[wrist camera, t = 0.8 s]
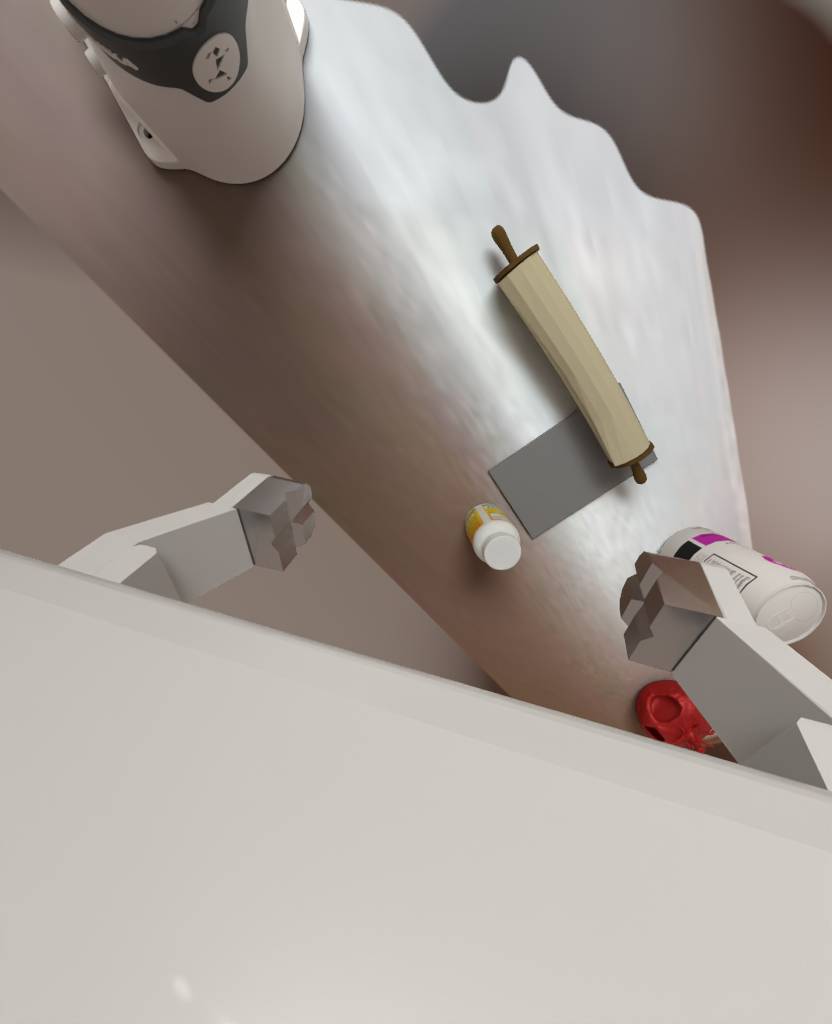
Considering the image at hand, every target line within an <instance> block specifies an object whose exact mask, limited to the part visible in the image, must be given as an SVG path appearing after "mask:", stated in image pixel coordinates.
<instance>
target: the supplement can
mask: <svg viewBox="0 0 832 1024" xmlns="http://www.w3.org/2000/svg"><path fill="white" fill-rule="evenodd" d="M660 555H665V556H670V557H675V558H680V559H685V560H691V561H700V562H706V563H712V564H717V565H722V566H724V567H725V568H726V569H727V570H728V571H729V573H730V575H731V577H732V579H733V581H734V583H735V585H736V587H737V589H738V591H739V592H740V594H741V596H742V598H743V600H744V602H745V604H746V606H747V608H748V610H749V612H750V614H751V616H752V617H753V619H754V621H755V623H756V625H757V626H760V627H764V628H767V629H768V630H769V631H770V632H772V633H773V634H774V635H775V636H777V637H778V638H779V639H780V640H782V641H783V642H784V643H786V644H790V643H793V642H796V641H798V640H801V639H802V638H804V637H806V636H807V635H808V634H810V633H811V632H813V631H814V629H815V628H816V627H817V626H818V625H819V624H820V622H821V620H822V619H823V617H824V615H825V613H826V604H827V602H826V599H825V596H824V594H823V592H821V591H820V590H819V589H818V588H817V586H816V585H815V584H814V582H813V581H812V580H811V579H810V578H808V577H807V576H806V575H805V574H803V573H801V572H799V571H796V570H794V569H792V568H790V567H788V566H786V565H784V564H781V563H779V562H777V561H775V560H773V559H771V558H769V557H767V556H764V555H762V554H760V553H758V552H756V551H754V550H752V549H749V548H747V547H745V546H743V545H741V544H739V543H737V542H735V541H732V540H730V539H728V538H726V537H724V536H722V535H720V534H717V533H715V532H713V531H711V530H709V529H706V528H702V527H688V528H685V529H683V530H681V531H678V532H676V533H675V534H674V535H672V536H671V537H670V538H669V539H667V541H666V542H665V544H664V545H663V546H662V548H661V551H660Z"/></svg>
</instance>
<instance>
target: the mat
mask: <svg viewBox="0 0 832 1024" xmlns="http://www.w3.org/2000/svg"><path fill="white" fill-rule="evenodd" d="M618 384H619V386H620V388H621V390H622V391H623V393H624V395H625V397H626V398H627V396H626V394H625V392H624V390H623V388H622V386H621V384H620V383H618ZM627 400H628V398H627ZM628 402H629V400H628ZM629 404H630V402H629ZM630 406H631V404H630ZM631 408H632V406H631ZM632 410H633V408H632ZM633 412H634V410H633ZM634 414H635V412H634ZM635 416H636V414H635ZM636 418H637V416H636ZM637 419H638V418H637ZM638 421H639V420H638ZM639 423H640V422H639ZM640 425H641V424H640ZM641 427H642V426H641ZM642 429H643V428H642ZM643 431H644V430H643ZM644 433H645V432H644ZM645 435H646V434H645ZM646 437H647V436H646ZM647 439H648V438H647ZM607 460H608V457H607V455H606V454H605V452H604V450H603V448H602V447H601V445H600V443H599V441H598V440H597V438H596V436H595V434H594V432H593V431H592V429H591V427H590V425H589V424H588V422H587V420H586V418H585V417H584V415H583V414H582V412H581V410H580V409H579V410H577V411H576V412H574V413H573V414H571V415H570V416H568V417H567V418H566V419H564V420H563V421H561V422H560V423H558V424H557V425H555V426H554V427H552V428H551V429H549V430H548V431H546V432H545V433H543V434H542V435H540V436H539V437H538V438H536V439H535V440H533V441H532V442H530V443H529V444H527V445H526V446H524V447H523V448H521V449H520V450H518V451H517V452H515V453H514V454H512V455H511V456H509V457H508V458H507V459H505V460H504V461H502V462H501V463H499V464H498V465H496V466H495V467H493V468H492V469H490V470H489V473H490V474H491V476H492V477H493V479H494V481H495V482H496V484H497V485H498V487H499V488H500V490H501V491H502V493H503V494H504V496H505V497H506V499H507V500H508V502H509V503H510V505H511V507H512V508H513V510H514V511H515V513H516V514H517V516H518V517H519V519H520V520H521V522H522V523H523V525H524V526H525V528H526V529H527V531H528V532H529V534H530V536H531V537H532V538H534V537H536V536H538V535H539V534H541V533H542V532H544V531H545V530H547V529H549V528H550V527H552V526H553V525H555V524H557V523H558V522H560V521H561V520H563V519H564V518H566V517H568V516H569V515H571V514H572V513H574V512H575V511H577V510H579V509H580V508H582V507H583V506H585V505H586V504H588V503H590V502H591V501H593V500H594V499H596V498H597V497H599V496H601V495H602V494H604V493H605V492H607V491H609V490H610V489H612V488H613V487H615V486H616V485H618V484H620V483H621V482H623V481H624V480H626V479H627V478H629V477H631V476H632V475H633V473H632V470H631V467H630V466H627V467H623V468H619V469H618V468H611V467H610V466H609V464H608V462H607ZM656 460H657V457H656V455H655V453H654V451H652V453H651V454H650V455H648V456H647V457H646V458H644V459H643V460H642V461H639V464H640V466H641V467H642V469H643V468H645V467H646V466H648V465H650V464H651V463H653V462H654V461H656Z"/></svg>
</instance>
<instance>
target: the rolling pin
mask: <svg viewBox="0 0 832 1024" xmlns="http://www.w3.org/2000/svg"><path fill="white" fill-rule="evenodd" d="M491 234H492V238H493V240H494V241H495V243H496V244H497V245H498V247H499V248H500V249H501V251H502V252H503V254H504V255H505V257H506V258H507V260H508V262H509V263H510V264H509V265H508V266H506V267H505V268H504V269H503V270H502V271H501V272H500V273H499V274H498V275H497V276H496V277H495V278H494V279H493V280H494V281H495V283H496V284H497V283H498V285H499V286H500V288H501V289H502V291H503V292H504V293H505V295H506V296H507V298H508V299H509V301H510V302H511V304H512V305H513V307H514V308H515V309H516V311H517V312H518V314H519V315H520V317H521V318H522V320H523V321H524V323H525V324H526V326H527V327H528V328H529V330H530V331H531V333H532V334H533V336H534V337H535V339H536V341H537V342H538V344H539V345H540V347H541V348H542V350H543V351H544V353H545V354H546V356H547V357H548V359H549V361H550V362H551V364H552V365H553V367H554V368H555V370H556V371H557V373H558V374H559V376H560V377H561V379H562V381H563V382H564V384H565V386H566V387H567V389H568V391H569V392H570V394H571V395H572V397H573V399H574V400H575V402H576V404H577V405H578V407H579V409H580V410H581V412H582V414H583V415H584V417H585V418H586V420H587V422H588V424H589V425H590V427H591V429H592V431H593V432H594V434H595V436H596V438H597V440H598V441H599V443H600V445H601V447H602V448H603V450H604V452H605V454H606V455H607V457H608V460H607V462H608V464H609V466H610V467H611V468H618V469H619V468H623V467H627V466H630V467H631V470H632V473H633V476H634V479H635V481H636V482H637V483H638V484H643V483H645V482H646V481H647V476H646V474H645V472H644V471H643V469H642V467H641V466H640V464H639V461H642V460H643V459H644V458H646V457H647V456H648V455H650V454H651V453H652V451H653V449H654V445H653V444H652V443H651V442H650V441H649V440H648V439H647V437H646V435H645V433H644V431H643V429H642V427H641V425H640V423H639V421H638V419H637V418H636V416H635V414H634V412H633V410H632V408H631V406H630V404H629V402H628V400H627V398H626V397H625V395H624V393H623V391H622V390H621V388H620V386H619V384H618V383H617V381H616V379H615V377H614V375H613V374H612V372H611V370H610V368H609V367H608V365H607V363H606V361H605V360H604V358H603V356H602V354H601V353H600V351H599V349H598V348H597V346H596V344H595V343H594V341H593V339H592V338H591V336H590V334H589V333H588V331H587V330H586V328H585V326H584V325H583V323H582V321H581V320H580V318H579V316H578V315H577V313H576V311H575V310H574V308H573V306H572V305H571V303H570V302H569V300H568V299H567V297H566V295H565V294H564V292H563V291H562V289H561V288H560V286H559V285H558V283H557V281H556V280H555V278H554V277H553V275H552V274H551V272H550V271H549V269H548V267H547V266H546V264H545V263H544V261H543V260H542V258H541V257H540V255H539V253H538V252H537V251H538V250H539V246H538V245H537V244H536V245H534V246H532V247H531V248H529V249H528V250H527V251H525V252H524V253H522V254H521V255H520V256H519V257H517V255H516V253H515V252H514V250H513V248H512V246H511V243H510V241H509V239H508V237H507V234H506V232H505V230H504V229H503V227H502V226H500V225H497V226H495V227H494V228H493V229H492V232H491ZM499 282H500V283H499Z"/></svg>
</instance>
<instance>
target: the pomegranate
mask: <svg viewBox="0 0 832 1024" xmlns="http://www.w3.org/2000/svg"><path fill="white" fill-rule="evenodd" d="M636 711H637V713H638V720H639V722H640V725H641V727H642V729H643V730H644V731H645V732H646V733H647V734H648V735H649V736H650V737H651V738H653V739H654V740H658V741H661V742H665V743H668V744H671V745H675V746H678V747H685V746H687V748H688V750H691V749H692V744H693V745H694V746H695V749H696V751H697V752H699V753H702V754H704V753H705V750H706V749H705V748H704V747H702V746H701V745H700V743H703V744H705V745H707V746H713V745H709V744H707V743H705V742H703V741H702V739H703V738H704V737H705V736H706V735H713V734H714V732H715V731H714V730H712V731H711V733H709V732H710V730H711V729H712V727H711V726H710V725H709V723H708V722H707V721H706V719H705V718H704V717H703V715H702V714H701V713H700V711H699V710H698V709H697V708H696V706H695V705H694V704H693V702H692V701H691V700H690V698H689V697H688V696H687V694H686V693H685V692H684V690H683V689H682V688H681V686H680V685H679V684H678V682H677V681H674V680H661V681H655V682H653V683H650V684H648V685H647V686H645V687H644V688H643V690H642V691H641V692H640V694H639V696H638V699H637V703H636ZM713 747H714V746H713Z"/></svg>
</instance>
